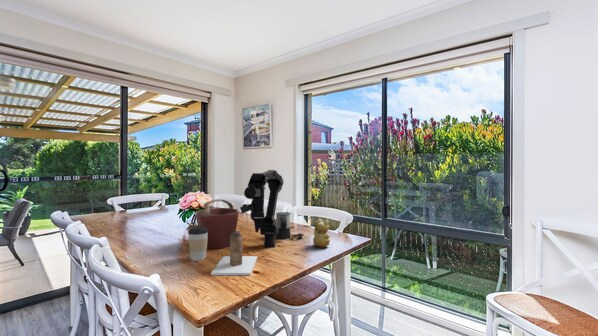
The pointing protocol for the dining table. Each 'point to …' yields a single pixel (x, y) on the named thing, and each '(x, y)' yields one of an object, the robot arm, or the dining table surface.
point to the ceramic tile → (228, 269)
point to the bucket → (218, 224)
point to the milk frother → (284, 226)
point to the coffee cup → (198, 242)
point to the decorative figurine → (321, 234)
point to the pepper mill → (235, 249)
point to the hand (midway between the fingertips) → (256, 230)
